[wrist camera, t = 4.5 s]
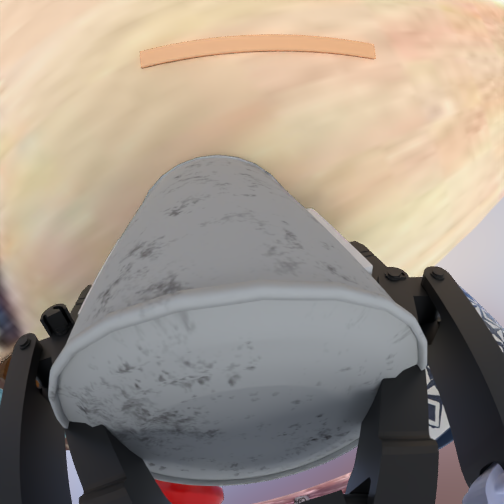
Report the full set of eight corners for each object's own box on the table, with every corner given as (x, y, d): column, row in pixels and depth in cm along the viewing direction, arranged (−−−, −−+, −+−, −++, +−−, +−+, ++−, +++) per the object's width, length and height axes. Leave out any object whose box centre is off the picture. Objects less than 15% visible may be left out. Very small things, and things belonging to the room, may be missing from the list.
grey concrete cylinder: (259, 126, 14) (435, 171, 3) (313, 264, 18) (412, 421, 8) (108, 205, 14) (-14, 376, 3) (187, 320, 19) (192, 494, 8)
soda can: (225, 378, 27) (243, 512, 14) (197, 410, 29) (204, 520, 16) (154, 356, 24) (143, 504, 11) (136, 393, 27) (125, 510, 14)
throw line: (142, 68, 13) (141, 67, 13) (140, 52, 13) (139, 51, 13) (373, 59, 15) (375, 58, 14) (371, 45, 14) (373, 44, 14)
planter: (380, 388, 34) (419, 463, 21) (352, 336, 27) (413, 449, 14) (461, 328, 32) (512, 389, 19) (460, 255, 25) (544, 330, 12)
